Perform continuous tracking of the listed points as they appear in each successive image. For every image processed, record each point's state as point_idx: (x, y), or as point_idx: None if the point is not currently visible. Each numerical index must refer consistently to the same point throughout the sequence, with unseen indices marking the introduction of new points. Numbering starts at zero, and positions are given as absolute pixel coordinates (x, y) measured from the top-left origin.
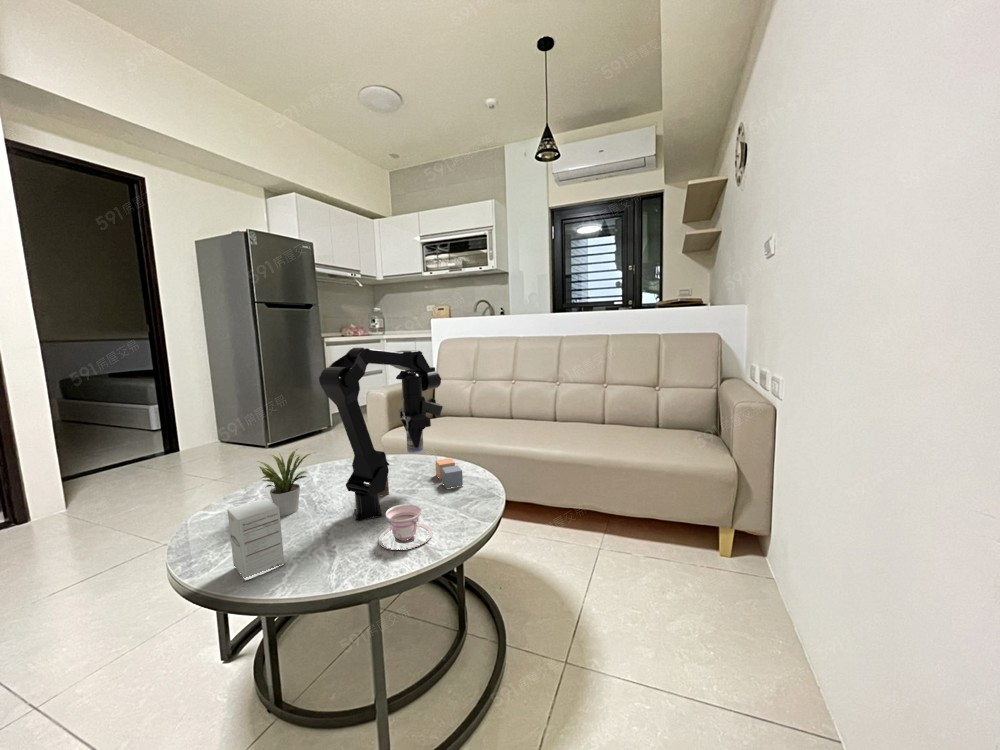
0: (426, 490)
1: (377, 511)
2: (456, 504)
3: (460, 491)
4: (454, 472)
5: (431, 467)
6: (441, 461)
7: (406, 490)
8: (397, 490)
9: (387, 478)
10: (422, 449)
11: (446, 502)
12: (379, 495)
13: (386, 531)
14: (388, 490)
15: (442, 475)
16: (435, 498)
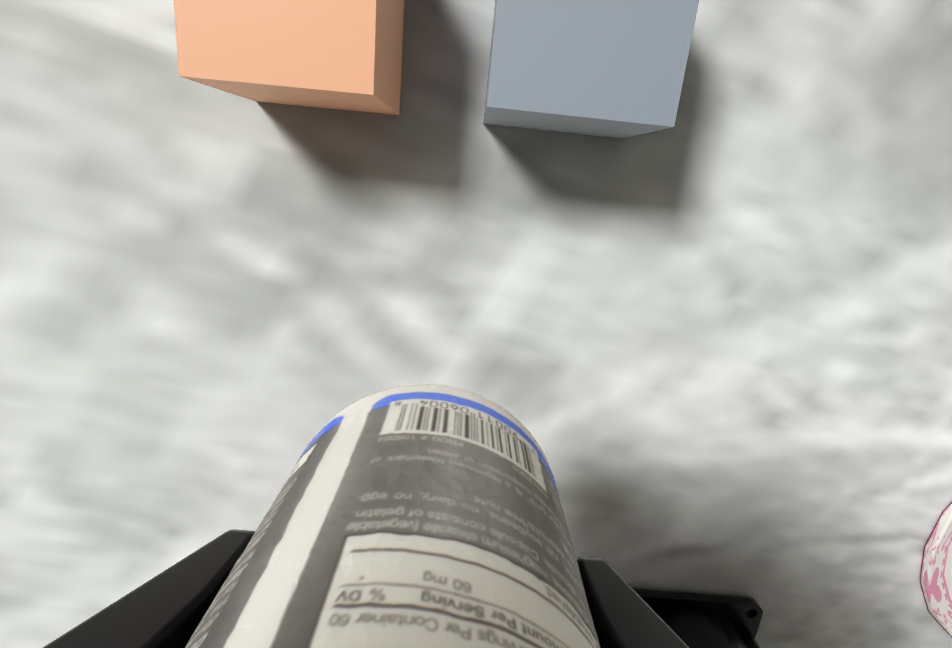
0: (551, 286)
1: (733, 628)
2: (925, 176)
3: (737, 48)
4: (693, 18)
5: (26, 71)
6: (257, 21)
7: None
8: None
9: None
10: (520, 431)
11: (843, 228)
12: None
13: (948, 615)
14: None
15: (505, 117)
16: (728, 274)
